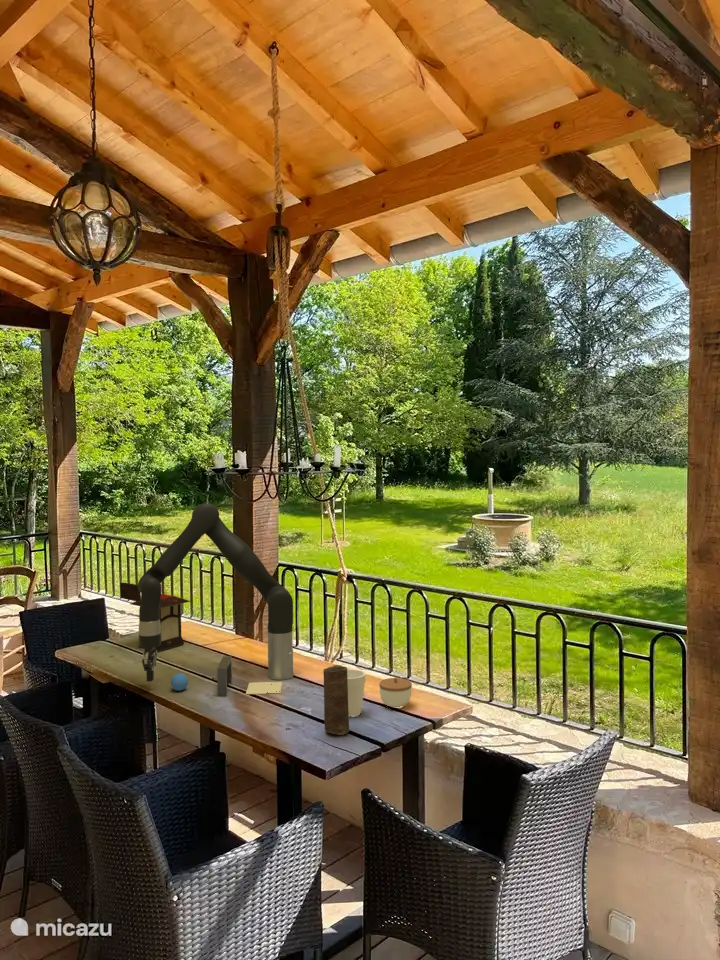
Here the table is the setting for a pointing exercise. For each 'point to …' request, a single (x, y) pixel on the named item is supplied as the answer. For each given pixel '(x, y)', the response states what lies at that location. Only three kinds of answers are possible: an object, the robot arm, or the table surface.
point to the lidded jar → (395, 691)
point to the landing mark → (264, 687)
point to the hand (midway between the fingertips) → (150, 680)
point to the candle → (336, 700)
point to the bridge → (224, 675)
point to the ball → (179, 682)
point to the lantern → (161, 615)
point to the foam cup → (355, 690)
